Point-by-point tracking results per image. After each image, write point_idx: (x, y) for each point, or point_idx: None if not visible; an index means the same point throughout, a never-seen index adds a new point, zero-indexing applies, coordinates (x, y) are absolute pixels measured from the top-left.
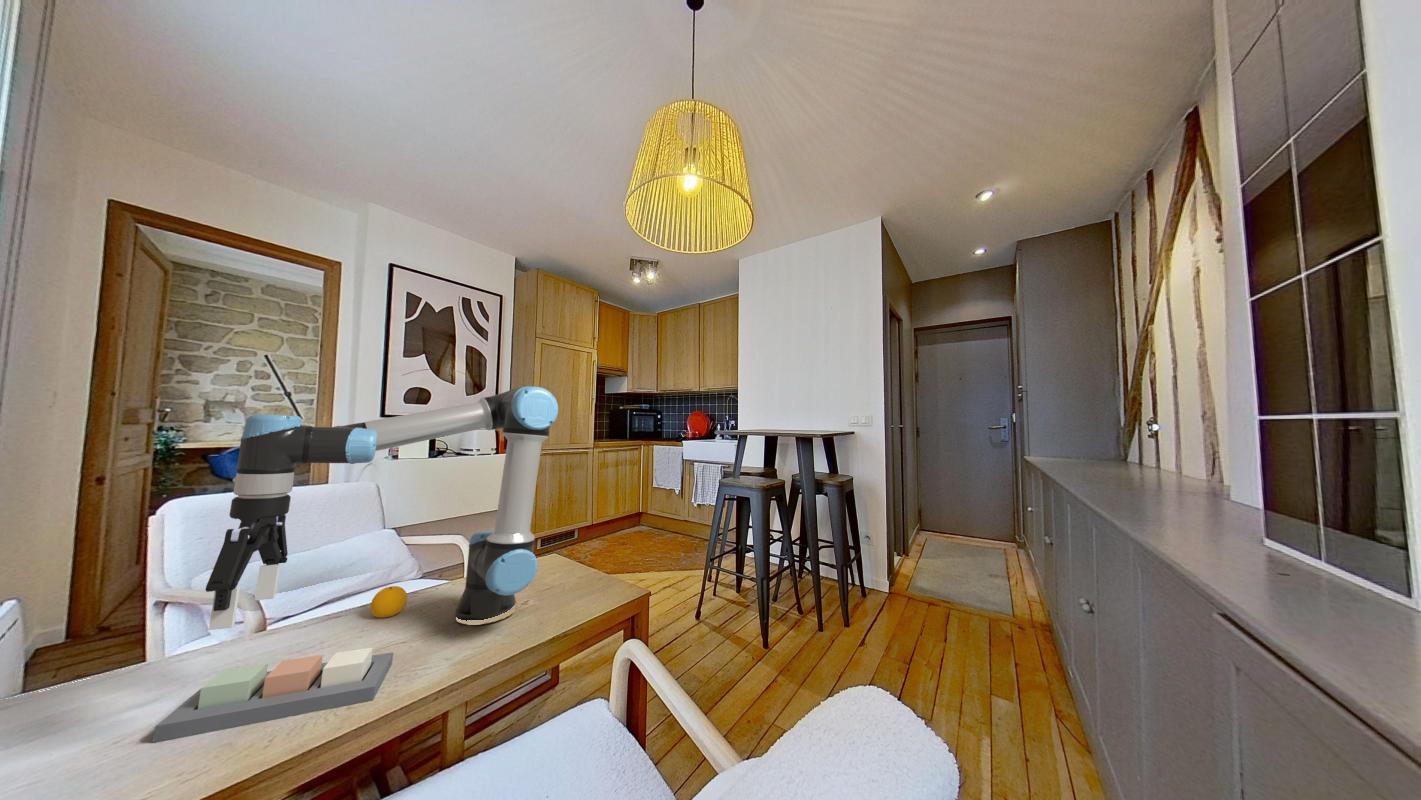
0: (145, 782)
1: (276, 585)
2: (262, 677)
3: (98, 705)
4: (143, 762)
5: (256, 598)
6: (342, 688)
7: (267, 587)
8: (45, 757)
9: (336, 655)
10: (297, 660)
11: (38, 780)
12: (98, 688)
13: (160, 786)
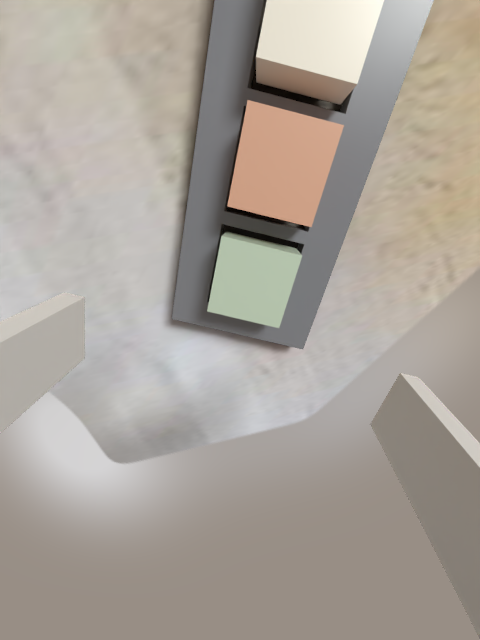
0: (408, 319)
1: (17, 319)
2: (241, 237)
3: (142, 411)
4: (348, 333)
5: (79, 357)
6: (395, 38)
7: (38, 354)
8: (255, 416)
9: (279, 51)
10: (248, 168)
11: (308, 407)
12: (89, 423)
13: (436, 301)
